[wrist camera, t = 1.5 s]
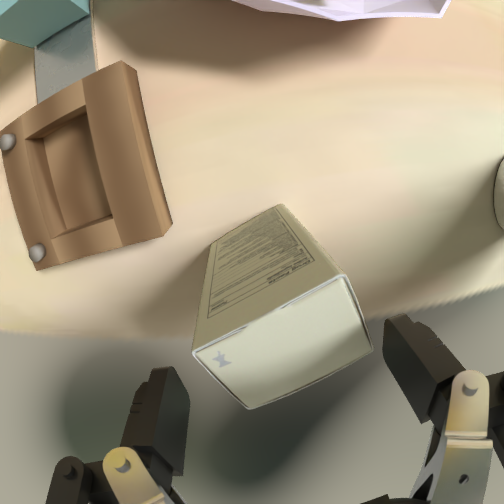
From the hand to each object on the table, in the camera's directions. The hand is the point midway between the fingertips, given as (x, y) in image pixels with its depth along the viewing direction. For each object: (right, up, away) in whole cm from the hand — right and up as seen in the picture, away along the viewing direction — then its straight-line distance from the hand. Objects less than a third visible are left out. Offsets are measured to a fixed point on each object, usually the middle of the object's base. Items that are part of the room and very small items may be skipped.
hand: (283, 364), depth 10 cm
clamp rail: (-17, +23, +3) cm, 29 cm away
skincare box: (0, +5, +12) cm, 13 cm away
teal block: (-17, +25, +3) cm, 30 cm away
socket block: (-14, +10, +9) cm, 19 cm away
